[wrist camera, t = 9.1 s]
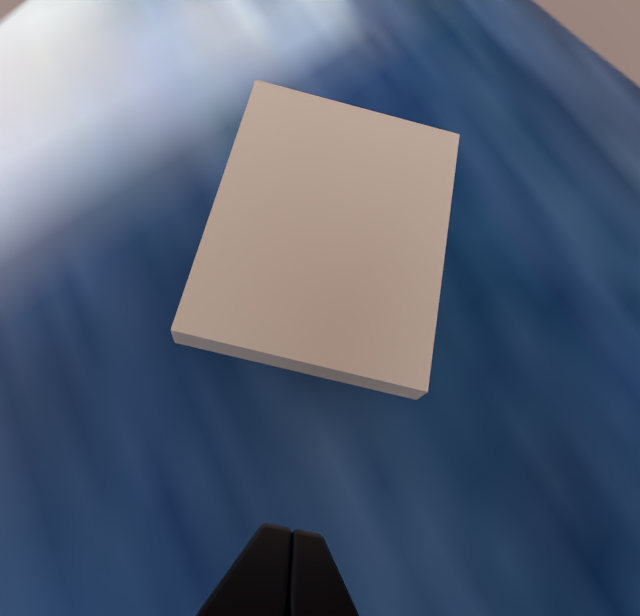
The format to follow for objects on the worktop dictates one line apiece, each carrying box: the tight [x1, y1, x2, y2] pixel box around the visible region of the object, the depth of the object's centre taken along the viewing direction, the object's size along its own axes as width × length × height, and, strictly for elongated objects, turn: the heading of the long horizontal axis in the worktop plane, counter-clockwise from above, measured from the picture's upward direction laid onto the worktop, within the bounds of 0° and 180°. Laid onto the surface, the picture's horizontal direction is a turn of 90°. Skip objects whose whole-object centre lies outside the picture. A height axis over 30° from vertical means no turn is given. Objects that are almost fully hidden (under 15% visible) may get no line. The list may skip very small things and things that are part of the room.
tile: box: [171, 80, 460, 400], centre depth 17 cm, size 2×7×9 cm
